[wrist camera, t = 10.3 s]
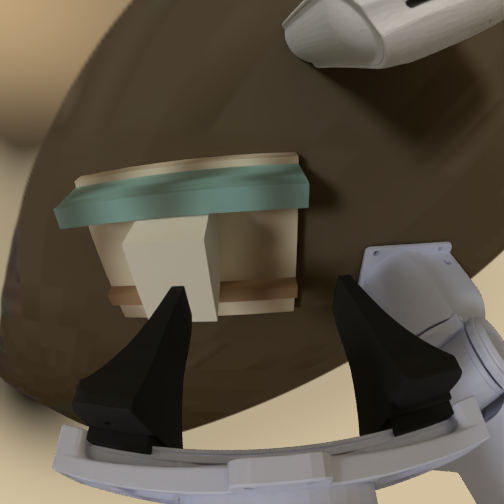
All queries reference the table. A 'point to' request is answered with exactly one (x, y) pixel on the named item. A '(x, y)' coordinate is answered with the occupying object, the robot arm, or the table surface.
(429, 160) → the table surface
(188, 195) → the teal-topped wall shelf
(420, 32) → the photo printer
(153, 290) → the beige rectangular block
